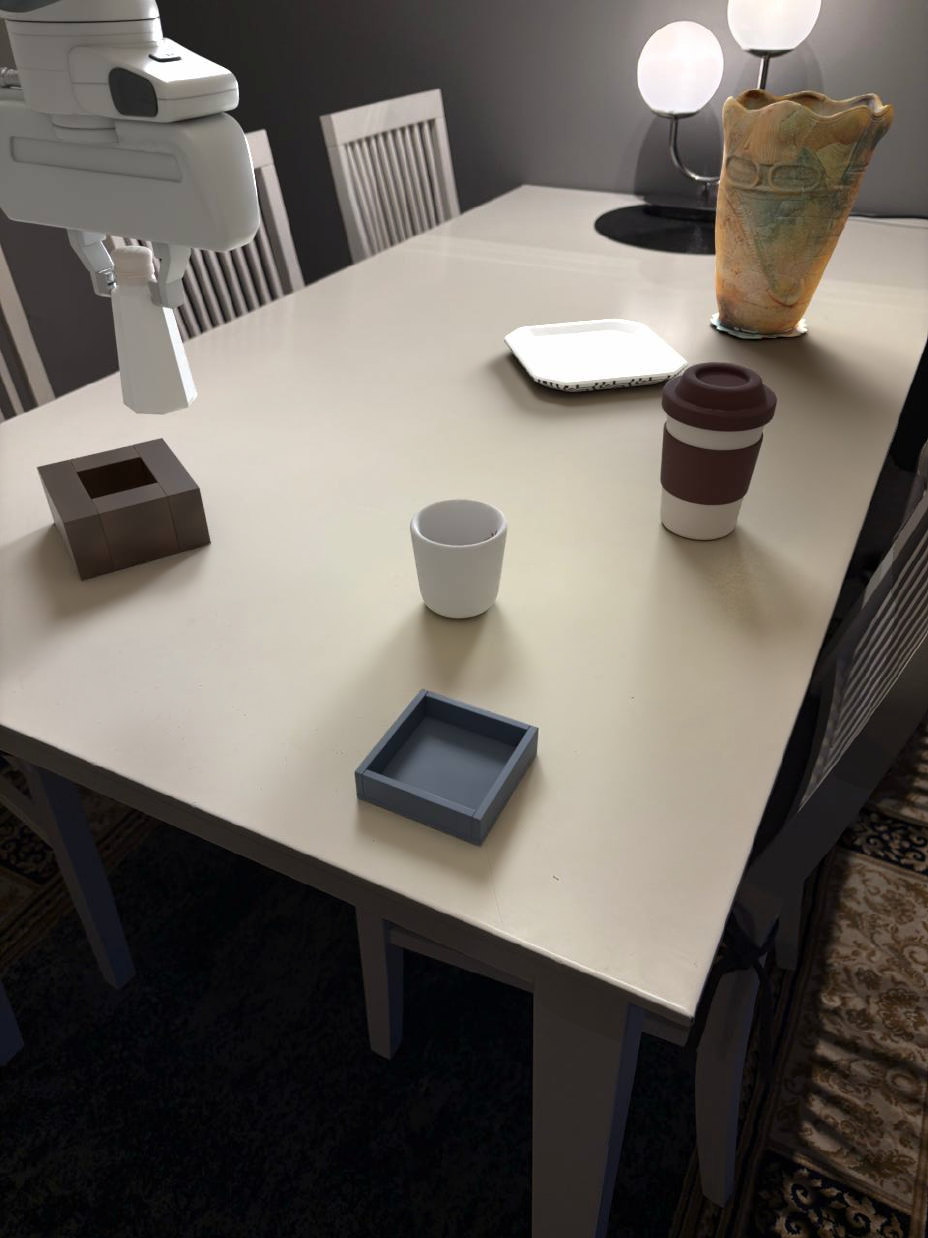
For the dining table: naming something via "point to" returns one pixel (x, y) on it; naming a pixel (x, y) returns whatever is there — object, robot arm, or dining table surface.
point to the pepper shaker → (147, 340)
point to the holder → (124, 507)
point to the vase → (786, 201)
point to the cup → (459, 555)
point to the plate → (594, 355)
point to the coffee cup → (711, 446)
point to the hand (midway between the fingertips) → (140, 300)
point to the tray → (448, 765)
